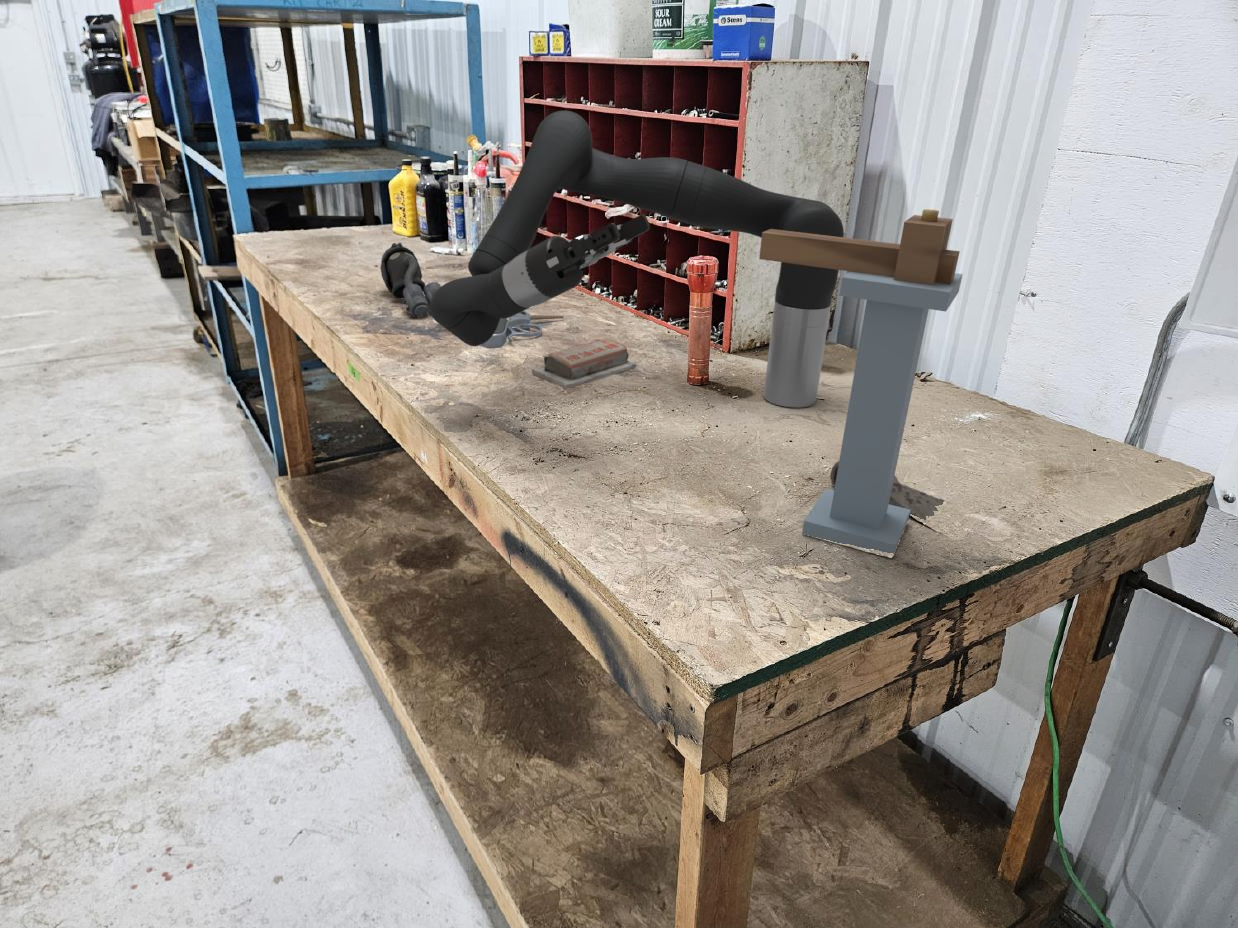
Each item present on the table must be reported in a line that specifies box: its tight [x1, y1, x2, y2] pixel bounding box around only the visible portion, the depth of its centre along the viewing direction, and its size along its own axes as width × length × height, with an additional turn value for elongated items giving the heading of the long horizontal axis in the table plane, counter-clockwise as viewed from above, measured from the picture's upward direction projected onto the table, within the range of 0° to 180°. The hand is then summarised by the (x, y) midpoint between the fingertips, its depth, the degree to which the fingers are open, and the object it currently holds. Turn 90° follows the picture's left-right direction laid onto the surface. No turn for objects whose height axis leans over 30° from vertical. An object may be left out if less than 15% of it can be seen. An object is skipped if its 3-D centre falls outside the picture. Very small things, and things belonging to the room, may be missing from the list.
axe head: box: [829, 460, 946, 520], centre depth 108 cm, size 20×5×10 cm
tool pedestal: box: [801, 271, 963, 554], centre depth 95 cm, size 10×11×32 cm
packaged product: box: [531, 338, 637, 389], centre depth 151 cm, size 18×5×10 cm
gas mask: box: [380, 242, 442, 319], centre depth 189 cm, size 15×9×26 cm
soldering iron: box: [480, 310, 565, 349], centre depth 171 cm, size 6×28×16 cm
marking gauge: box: [758, 209, 961, 286], centre depth 89 cm, size 6×21×7 cm, turn 62°
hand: (632, 225), depth 105 cm, fingers open, 8 cm apart
